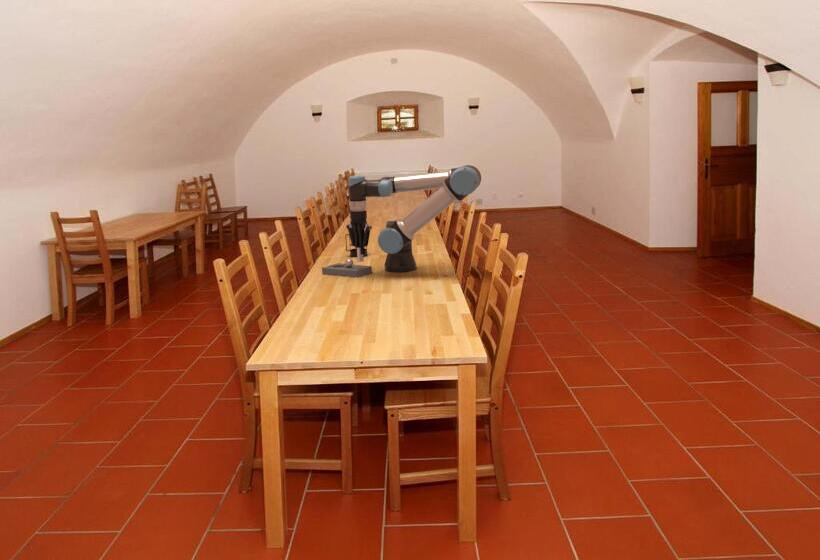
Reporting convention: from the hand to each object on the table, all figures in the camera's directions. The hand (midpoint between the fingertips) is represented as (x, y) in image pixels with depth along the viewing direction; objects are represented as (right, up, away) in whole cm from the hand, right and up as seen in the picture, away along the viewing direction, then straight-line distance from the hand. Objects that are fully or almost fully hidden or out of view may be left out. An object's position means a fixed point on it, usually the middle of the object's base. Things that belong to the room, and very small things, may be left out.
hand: (360, 261), depth 336 cm
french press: (-5, +4, +49) cm, 49 cm away
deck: (-7, -5, +6) cm, 10 cm away
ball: (-6, -1, +4) cm, 7 cm away
